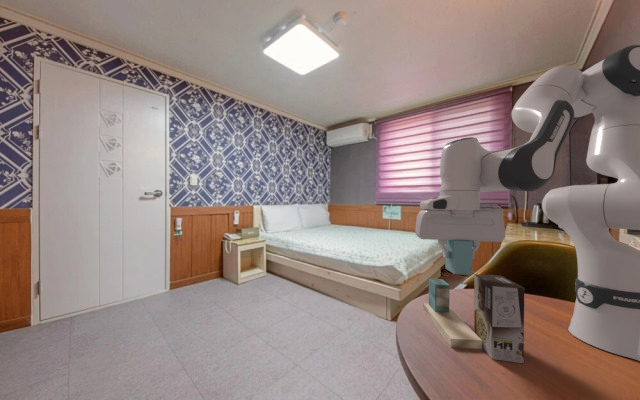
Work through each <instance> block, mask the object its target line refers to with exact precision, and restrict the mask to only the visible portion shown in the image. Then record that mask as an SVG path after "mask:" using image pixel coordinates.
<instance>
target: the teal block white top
mask: <svg viewBox="0 0 640 400" xmlns="http://www.w3.org/2000/svg"><path fill="white" fill-rule="evenodd" d="M445 246H446V248H447V250H449V251H451V258H444V259H445V262H444V263H445V265H444V267H445V269H446V270H447V271H449V272H450V273H452V274H454V275H462V276H463V275H465V276H466V275H467V276H472V275H473V259H472V241H461V240H447V244H445Z"/></svg>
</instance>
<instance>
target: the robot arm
mask: <svg viewBox="0 0 640 400" xmlns="http://www.w3.org/2000/svg"><path fill="white" fill-rule="evenodd" d="M590 114H592V116H593V117H594V124H593V126H592V128H591V133H590V137H589V141H588V142H589V143H588V149H587V154H586V165H587V167H588V168H589V169H590V170H592V171H593V172H595V173H597V174H599V175H603V176H606V177H611V178H614V179H617V181H616V182H614V183H600V184H599V183H598V184H574V185H568V186H563V187H557V188H552V189H550V190H549V191H548V192H547V193H545V195H544V197H543V198H542V201H541V208H542V212H543V214H544V215H545V217H547V219H548V220H550V221H551V222H552V223H555V224H556V225H558V226H559V227H560V228H561V229H562V230H563V231H564V232H565V233H566V234H567V235H568V237H569V239H570V240H571V242H572V243H573V245H574V248H575V252H576V261H577V277H576V278H575V283H574V285H575V286H574V292H575V295H576V299H575V303H574V308H573V314H572V317H571V319H570V324H569V326H568V327H567V328H568V329H567V330H568V332H569V333H570V334H571V335H572V336H574V337H575V338H577V339H579V340H580V341H582V342H584V343H586V344H588V345H591V346H593V347H596V348H597V349H600V350H604V351H606V352H609V353H612V354H614V355H618V356H622V357H626V358H629V359H633V360H636V361H638V362H640V250H639V249H637V248H636V247H633V246H631V245H629V244H627V243H624V242H622V241H618V240H617V239H615V238H614V237H613V236H612V234H611V233H610V229H618V230H619V229H621V230H632V231H633V230H635V231H640V44H633V45H628V46H626V47H622V48H621V49H619V50H616V51H614V52H612V53H611V54H609V55H607V56H605V58H604V59H602V60H600V61H599V62H597V63H595V64H593V65H591V66H590V67H589V68H587V69H585V70H584V71H582V70H580V69H579V68H578V67H576V66H575V65H574V66H573V65H560V66H559V65H558V66H555V67H553V68H551V69H548V70H547V71H545V72H544V73H543V74H541V76H539V77H538V78H536V79H535V80H534V81H533V83H532V84H531V85H529V87H528V88H527V89H526V90H525V91H524V92H523V94H522V95H521V96H520V97H519V98H518V100H517V101H516V102H515V104H514V106H513V108H512V110H511V118H512V119H511V120H512V122H513V124H514V125H515V126H516V127H517V128H519V129H520V130H521V131H524V132H526V133H528V134H531V136H530V139H529V140H528V141H527V142H525V143H523V144H521V145H519V146H516V147H513V148H510V149H509V148H508V149H505V150H501V151H496V152H492V151H490V150H488V149H486V148H484V147H483V146H482V145H481V144H480V142H479V139H478V138H477V137H463V138H460V139H455V140H452V141H450V142H447V143H446V144H445V145H444V146H443V148H442V149H441V150H442V151H441V155H440V162H439V164H440V165H439V176H440V181H441V185H440V187H439V195H438V196H435V197H432V198H429V199H424V200H421V201H420V203H419V208H420V209H421V210H420V211H418V213H417V216H416V220H415V229H414V230H415V232H414V233H415V236H416V237H418V238H419V239H421V240H431V241H432V240H433V241H434V240H435V241H436V240H437V244H438V245H439V247H440V249H441V250H442V253H441V254H442V258H444V259H446V258H451V251H449V250H447V248H446V244H447V240H461V241H472V260H475V256H476V255H475V254H476V252H477V251H478V249H479V248H480V246H481V242H488V243H489V242H495V243H502V242H503V241H504V240H505V239H506V227H505V221H504V217H505V216H504V209H503V208H502V207H501V206H500V205H498V204H497V203H481V192H503V191H504V192H505V191H515V192H517V191H518V192H534V191H538V190H540V189H541V188H543V187H544V186H545V185H546V184H547V183H549V181H550V180H552V177H553V176H554V173H555V169H556V164H557V158H558V157H559V154H560V152H561V150H562V148H563V146H564V143H565V141H566V140H567V137H568V136H569V132H570V131H571V128H572V126H573V123H574V121H576V120H580V119H582V118H584V117H586V116H587V115H590Z"/></svg>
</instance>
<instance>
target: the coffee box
mask: <svg viewBox="0 0 640 400" xmlns="http://www.w3.org/2000/svg"><path fill="white" fill-rule="evenodd" d="M473 278H474V279H473V281H474V282H473V283H474V285H473V286H474V287H473V288H474V296H473V297H474V298H473V299H474V300H473V301H474V302H473V303H474V304H473V305H474V306H473V307H474V308H473V309H474V310H473V311H474V314H473V315H474V321H473V322H474V323H473V324H474V328H473V329H474V330H473V332H474V333H475V334H476V335H477V336H478V337H479V338H480V339H481V340H482V349H484V351H485V352H486V353H487V354H488V355H489V357H490V358H491V359H492V360H497V361H502V362H504V361H505V362H511V363H516V364H517V363H518V364H523V363H524V361H525V358H524V357H525V355H524V353H525V351H524V349H525V345H524V344H525V290H526V288H525V287H523V286H522V285H520V284H518V283H516V282H514V281H512V280H510V279H508V278H507V277H505V276H503V275H501V274H500V275H499V274H498V275H496V274H477V273H476V274H474V277H473Z"/></svg>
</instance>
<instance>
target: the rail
mask: <svg viewBox="0 0 640 400" xmlns="http://www.w3.org/2000/svg"><path fill="white" fill-rule="evenodd" d="M422 311H424V313H425V314H426V315H427V317H428V319H429V320H430V321H431V322H432V324H433V325H434V326H435V328H436V329H437V331H438V332H439V333H440V334H441V336H442V337H443V339H444V340H445V341H446V343H447V344H448V345H449V347H450V348H457V349H458V348H460V349H473V350H474V349H475V350H483V347H482V340H481V339H480V338H479V337H478V336H477V335H476V334H475V333H474V330H473V329H472V328H470V326H469V325H468V324H466V322H464V321H463V319H461V317H460V316H459V315H457V313H455V312H454V311H453V310H452V309H451V307H450V284H449V283H448V282H446V281H445V280H444V279H442V278H428V302H427V303H422Z"/></svg>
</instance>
